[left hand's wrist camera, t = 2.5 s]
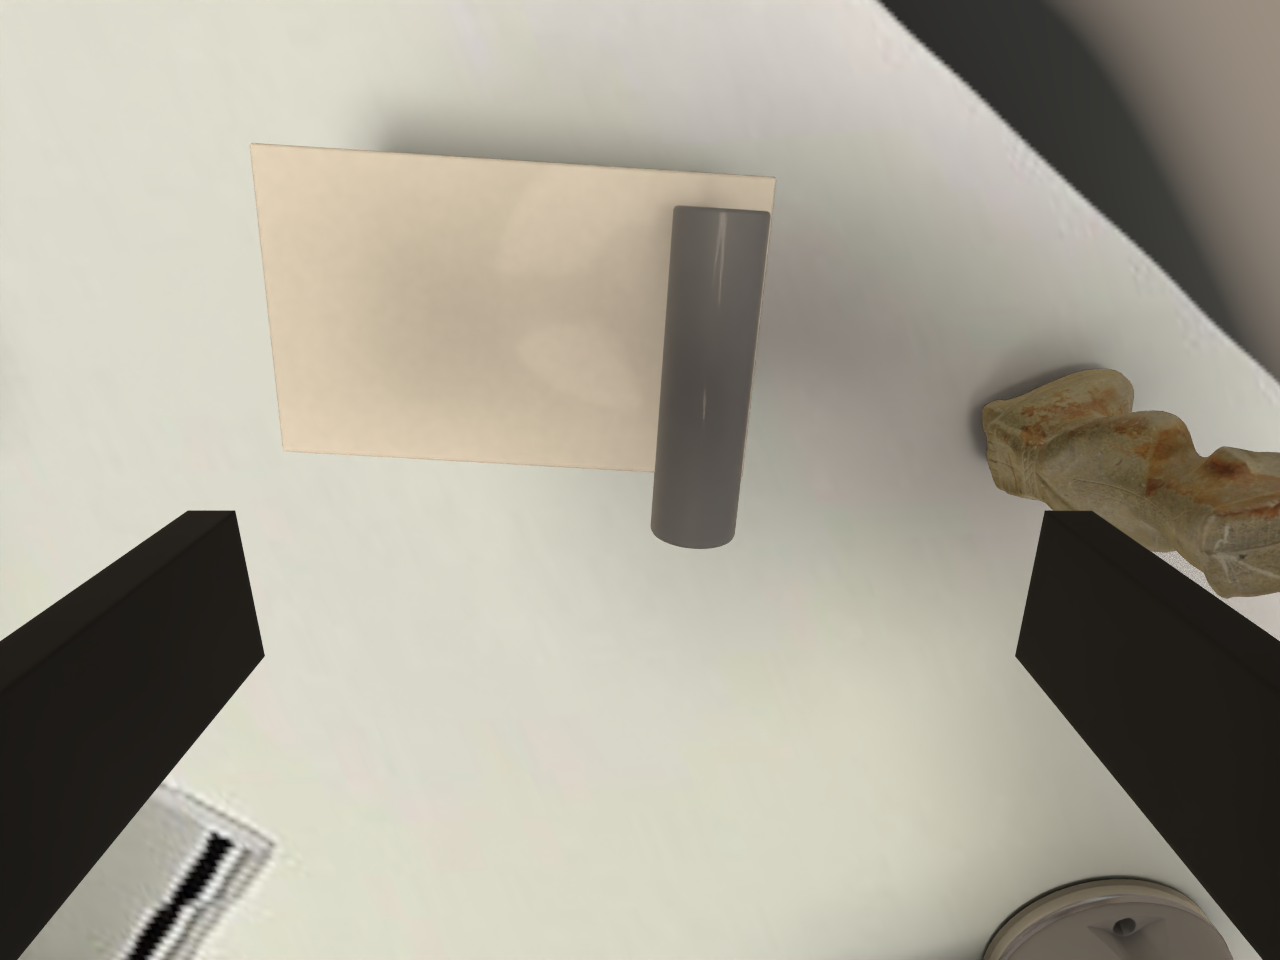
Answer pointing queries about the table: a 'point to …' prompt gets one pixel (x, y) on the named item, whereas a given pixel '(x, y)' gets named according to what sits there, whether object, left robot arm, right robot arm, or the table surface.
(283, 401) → the lid
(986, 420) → the sculpture
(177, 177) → the table surface
